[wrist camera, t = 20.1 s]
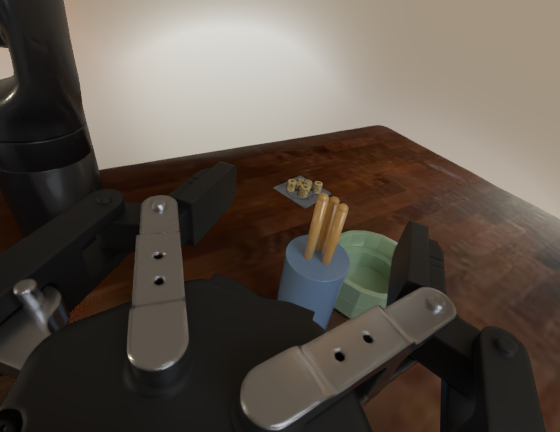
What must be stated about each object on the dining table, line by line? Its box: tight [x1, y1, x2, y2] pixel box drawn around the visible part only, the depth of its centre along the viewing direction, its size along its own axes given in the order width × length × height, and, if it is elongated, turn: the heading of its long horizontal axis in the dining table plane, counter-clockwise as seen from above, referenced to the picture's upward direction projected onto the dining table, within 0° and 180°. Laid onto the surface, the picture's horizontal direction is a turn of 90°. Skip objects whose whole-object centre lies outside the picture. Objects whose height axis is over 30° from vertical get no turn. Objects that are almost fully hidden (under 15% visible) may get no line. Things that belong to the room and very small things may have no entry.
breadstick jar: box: [276, 193, 350, 331], centre depth 31 cm, size 6×6×19 cm
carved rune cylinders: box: [286, 176, 323, 198], centre depth 60 cm, size 5×5×2 cm
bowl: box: [334, 230, 398, 319], centre depth 41 cm, size 11×11×6 cm
